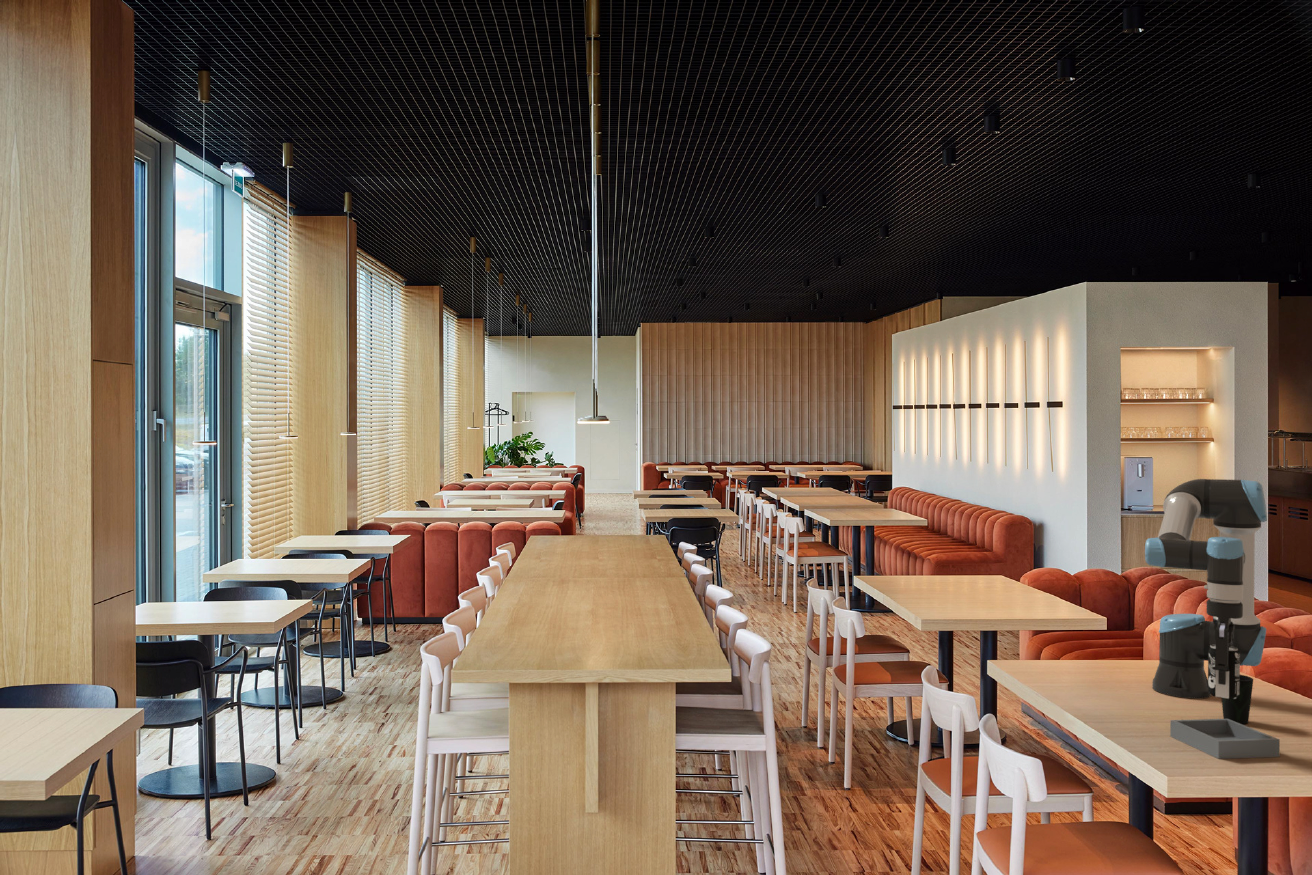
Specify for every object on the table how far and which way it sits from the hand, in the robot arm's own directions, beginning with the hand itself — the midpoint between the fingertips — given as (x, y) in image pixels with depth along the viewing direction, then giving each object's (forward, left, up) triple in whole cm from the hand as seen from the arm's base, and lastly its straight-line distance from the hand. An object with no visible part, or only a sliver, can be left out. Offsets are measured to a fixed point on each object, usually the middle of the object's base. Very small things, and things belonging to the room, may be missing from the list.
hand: (1223, 693), depth 216 cm
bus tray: (0, 0, -13) cm, 13 cm away
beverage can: (0, 0, -1) cm, 1 cm away
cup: (-19, -18, -13) cm, 29 cm away
